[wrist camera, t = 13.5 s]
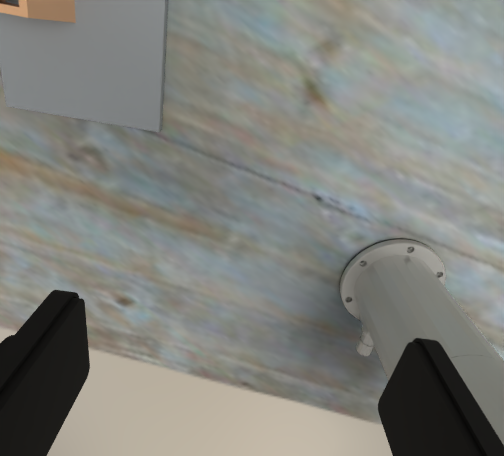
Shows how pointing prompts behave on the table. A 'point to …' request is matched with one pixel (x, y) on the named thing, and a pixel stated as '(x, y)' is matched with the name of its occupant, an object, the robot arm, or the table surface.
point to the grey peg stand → (89, 62)
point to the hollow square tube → (41, 9)
